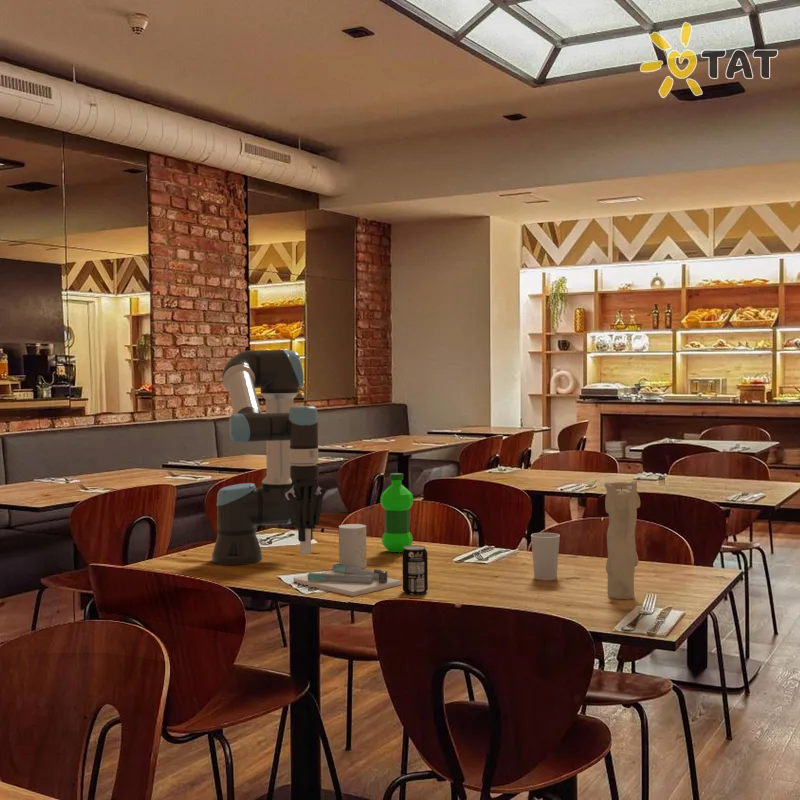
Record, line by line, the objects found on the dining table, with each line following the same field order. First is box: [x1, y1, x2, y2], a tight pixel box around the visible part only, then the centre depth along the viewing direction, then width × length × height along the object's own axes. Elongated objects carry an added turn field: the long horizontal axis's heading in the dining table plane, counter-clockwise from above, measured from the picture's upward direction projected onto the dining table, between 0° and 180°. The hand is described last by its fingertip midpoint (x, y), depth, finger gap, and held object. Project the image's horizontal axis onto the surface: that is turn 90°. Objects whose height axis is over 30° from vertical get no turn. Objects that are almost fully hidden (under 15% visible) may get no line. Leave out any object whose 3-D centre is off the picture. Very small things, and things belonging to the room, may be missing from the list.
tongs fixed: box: [332, 563, 389, 583], centre depth 272 cm, size 22×4×4 cm, turn 46°
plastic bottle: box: [379, 472, 414, 553], centre depth 314 cm, size 10×10×25 cm
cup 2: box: [530, 532, 561, 581], centre depth 274 cm, size 8×8×12 cm
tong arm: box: [307, 572, 374, 583], centre depth 266 cm, size 18×2×2 cm, turn 78°
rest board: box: [293, 569, 402, 597], centre depth 269 cm, size 24×18×1 cm
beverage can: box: [401, 544, 429, 596], centre depth 258 cm, size 7×7×12 cm
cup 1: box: [338, 523, 368, 569], centre depth 292 cm, size 8×8×12 cm
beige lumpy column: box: [604, 479, 641, 600], centre depth 249 cm, size 9×8×30 cm
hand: (305, 553), depth 260 cm, fingers closed
